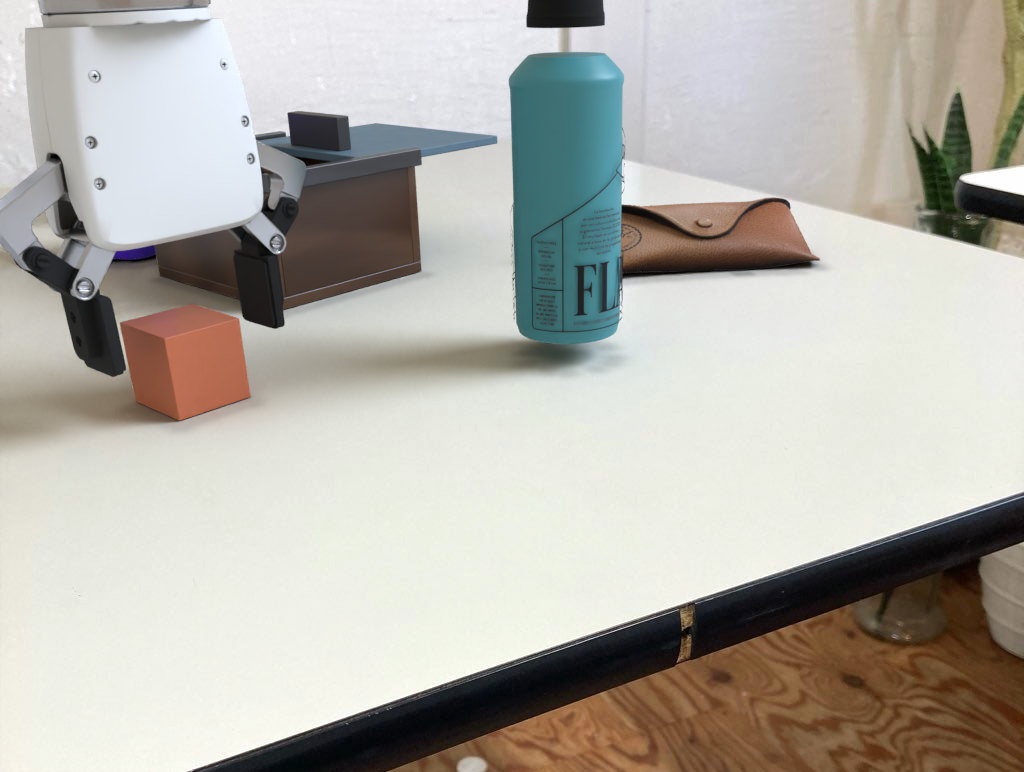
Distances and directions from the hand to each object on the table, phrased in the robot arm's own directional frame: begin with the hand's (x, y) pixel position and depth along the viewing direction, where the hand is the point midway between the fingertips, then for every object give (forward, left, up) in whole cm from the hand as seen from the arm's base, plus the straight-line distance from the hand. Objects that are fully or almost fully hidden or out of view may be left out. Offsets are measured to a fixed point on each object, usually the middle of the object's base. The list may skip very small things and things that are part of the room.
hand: (189, 345), depth 56 cm
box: (-18, +20, -3) cm, 27 cm away
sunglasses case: (+4, +42, -3) cm, 42 cm away
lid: (-18, +29, +5) cm, 35 cm away
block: (0, 0, -3) cm, 3 cm away
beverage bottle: (+11, +19, -3) cm, 22 cm away
